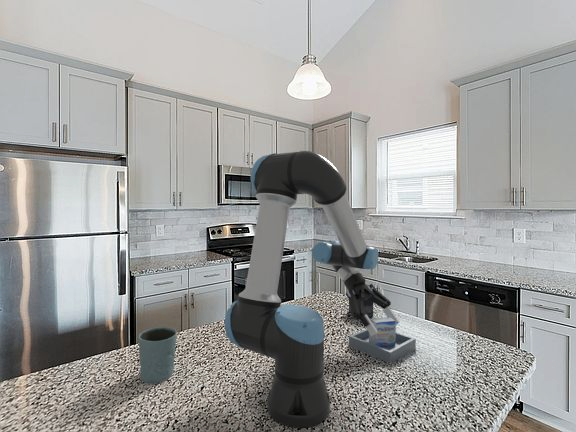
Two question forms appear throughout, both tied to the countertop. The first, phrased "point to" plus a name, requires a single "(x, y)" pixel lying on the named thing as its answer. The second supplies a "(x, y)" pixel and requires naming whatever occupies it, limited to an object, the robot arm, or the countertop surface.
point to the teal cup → (157, 354)
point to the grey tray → (383, 353)
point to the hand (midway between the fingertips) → (386, 329)
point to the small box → (366, 308)
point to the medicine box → (383, 332)
